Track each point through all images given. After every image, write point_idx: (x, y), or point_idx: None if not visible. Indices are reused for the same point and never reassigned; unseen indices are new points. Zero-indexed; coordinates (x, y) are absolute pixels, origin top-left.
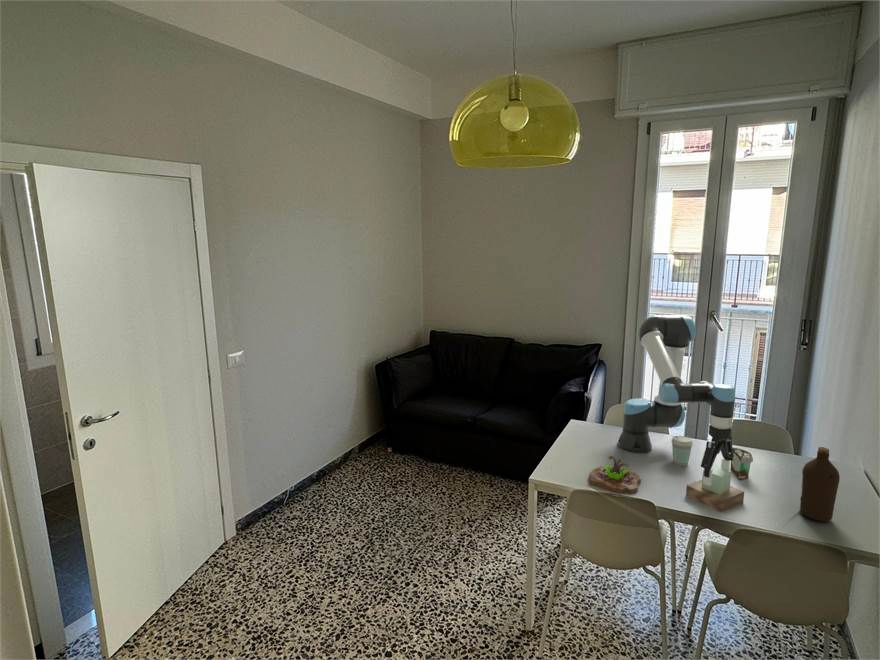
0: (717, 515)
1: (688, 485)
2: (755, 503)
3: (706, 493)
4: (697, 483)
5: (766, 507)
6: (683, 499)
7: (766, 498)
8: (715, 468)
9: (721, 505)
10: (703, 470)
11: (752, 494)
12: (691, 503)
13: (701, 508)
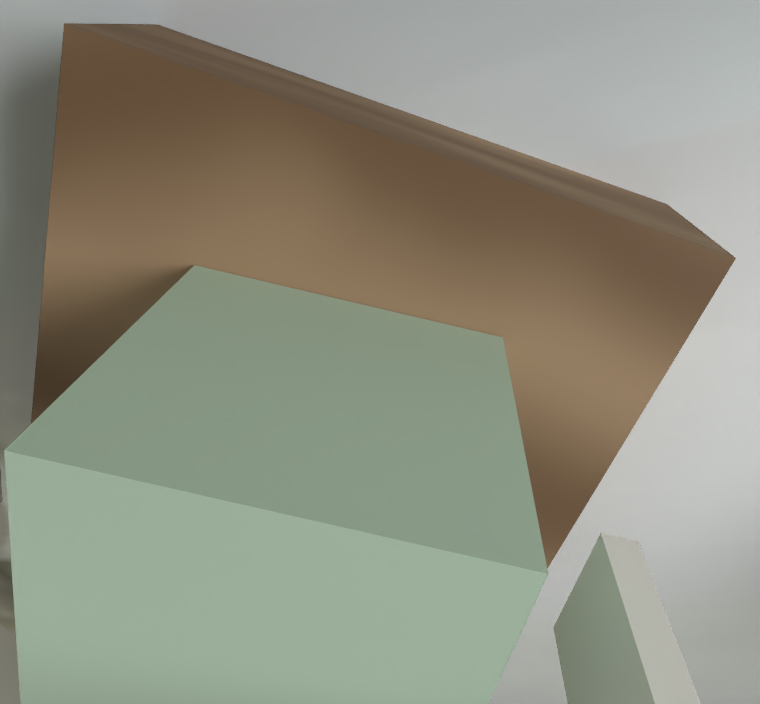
0: (10, 442)
1: (72, 58)
2: (535, 639)
3: (49, 372)
4: (289, 167)
5: (510, 700)
6: (28, 34)
7: (716, 691)
8: (383, 644)
9: None
10: (13, 453)
11: (746, 604)
12: (17, 162)
13: (5, 290)
